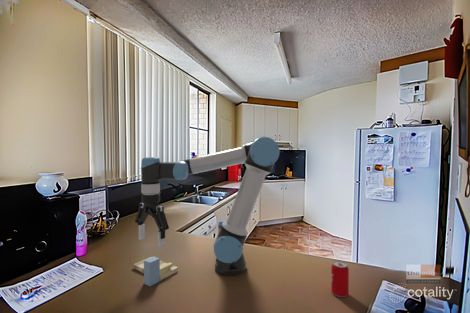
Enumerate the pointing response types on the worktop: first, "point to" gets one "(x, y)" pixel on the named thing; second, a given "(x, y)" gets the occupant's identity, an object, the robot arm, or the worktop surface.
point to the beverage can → (340, 279)
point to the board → (164, 274)
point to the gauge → (154, 270)
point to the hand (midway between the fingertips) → (151, 242)
